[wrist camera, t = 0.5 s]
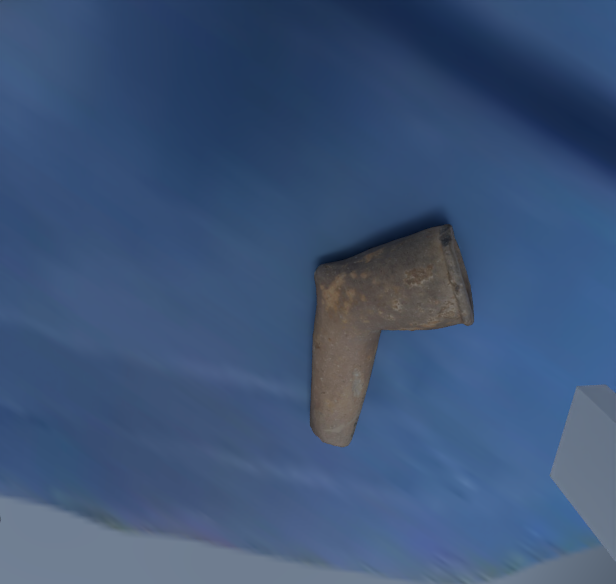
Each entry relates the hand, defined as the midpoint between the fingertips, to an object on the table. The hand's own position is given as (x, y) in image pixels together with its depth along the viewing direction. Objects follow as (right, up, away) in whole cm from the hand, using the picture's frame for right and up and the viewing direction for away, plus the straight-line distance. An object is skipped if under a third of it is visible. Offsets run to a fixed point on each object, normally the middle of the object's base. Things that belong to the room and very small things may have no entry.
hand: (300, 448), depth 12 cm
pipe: (+5, +1, +26) cm, 26 cm away
